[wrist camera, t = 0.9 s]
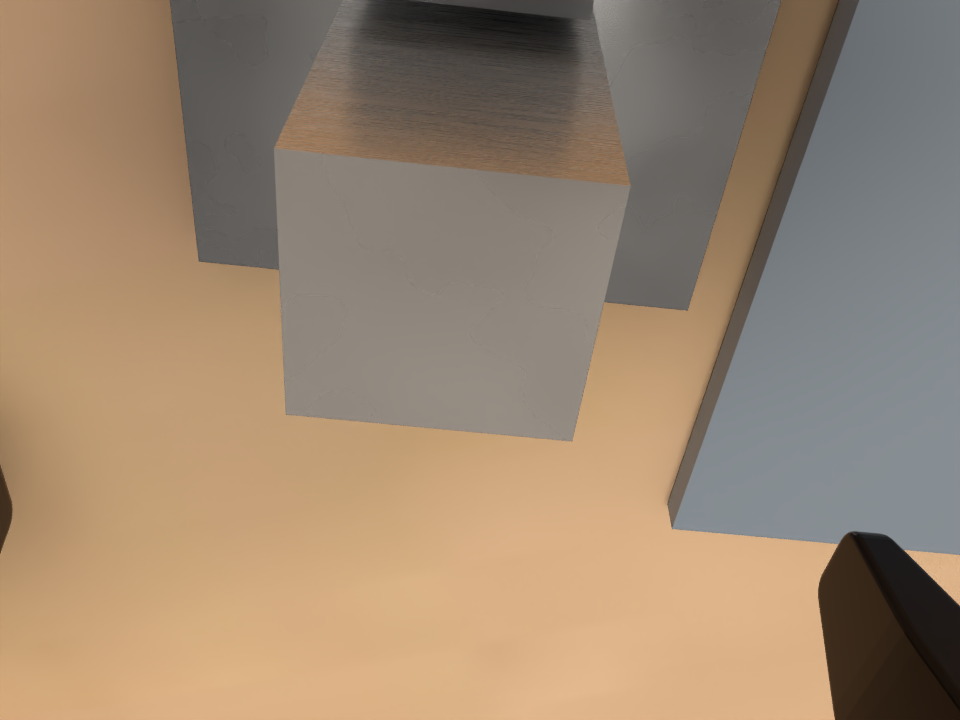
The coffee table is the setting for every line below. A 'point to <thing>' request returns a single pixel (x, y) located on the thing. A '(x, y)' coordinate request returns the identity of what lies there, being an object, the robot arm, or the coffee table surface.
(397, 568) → the coffee table surface
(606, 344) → the coffee table surface
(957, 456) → the slate board
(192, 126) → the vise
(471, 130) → the steel bar
